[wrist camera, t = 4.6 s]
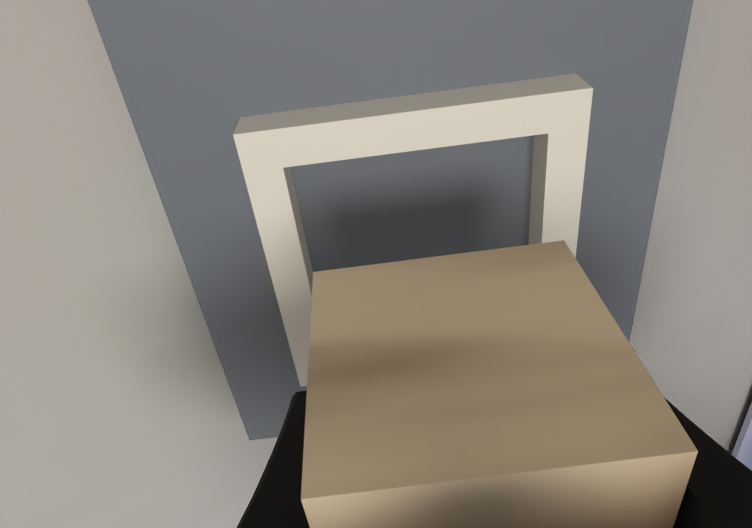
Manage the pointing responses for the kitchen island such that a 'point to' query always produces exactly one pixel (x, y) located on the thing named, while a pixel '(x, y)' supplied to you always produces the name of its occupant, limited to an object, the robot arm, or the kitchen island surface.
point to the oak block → (482, 400)
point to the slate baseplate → (389, 147)
